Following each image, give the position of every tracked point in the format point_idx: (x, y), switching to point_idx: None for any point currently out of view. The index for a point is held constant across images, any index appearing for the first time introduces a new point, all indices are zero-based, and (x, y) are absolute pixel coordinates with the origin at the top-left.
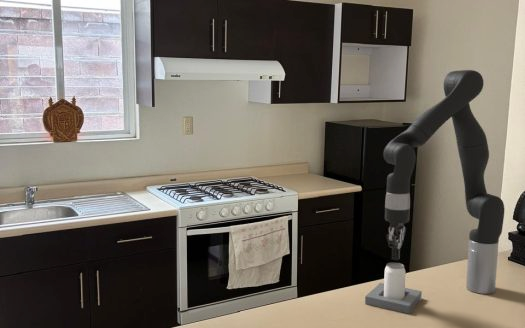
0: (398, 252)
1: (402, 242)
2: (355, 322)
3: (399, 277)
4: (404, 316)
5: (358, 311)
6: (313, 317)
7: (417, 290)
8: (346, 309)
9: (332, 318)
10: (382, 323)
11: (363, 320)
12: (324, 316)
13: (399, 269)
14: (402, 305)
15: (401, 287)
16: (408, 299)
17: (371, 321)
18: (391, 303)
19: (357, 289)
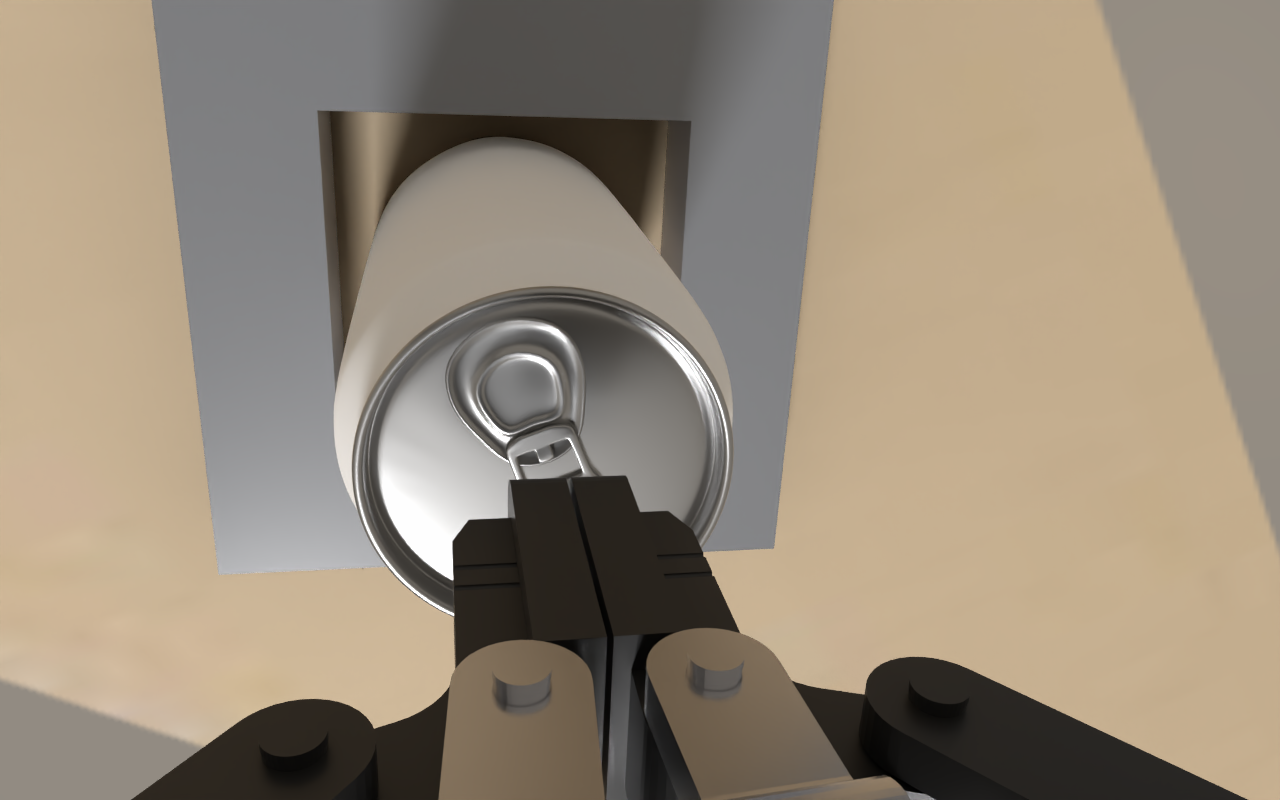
0: (661, 574)
1: (326, 745)
2: (1210, 414)
3: (675, 275)
4: (895, 12)
5: (961, 485)
6: (1214, 724)
7: (164, 18)
8: (960, 591)
9: (1188, 604)
10: (1157, 182)
11: (1146, 369)
12: (1169, 670)
13: (674, 335)
14: (819, 79)
15: (605, 200)
16: (612, 53)
17: (1145, 295)
18: (802, 228)
19: (394, 717)
